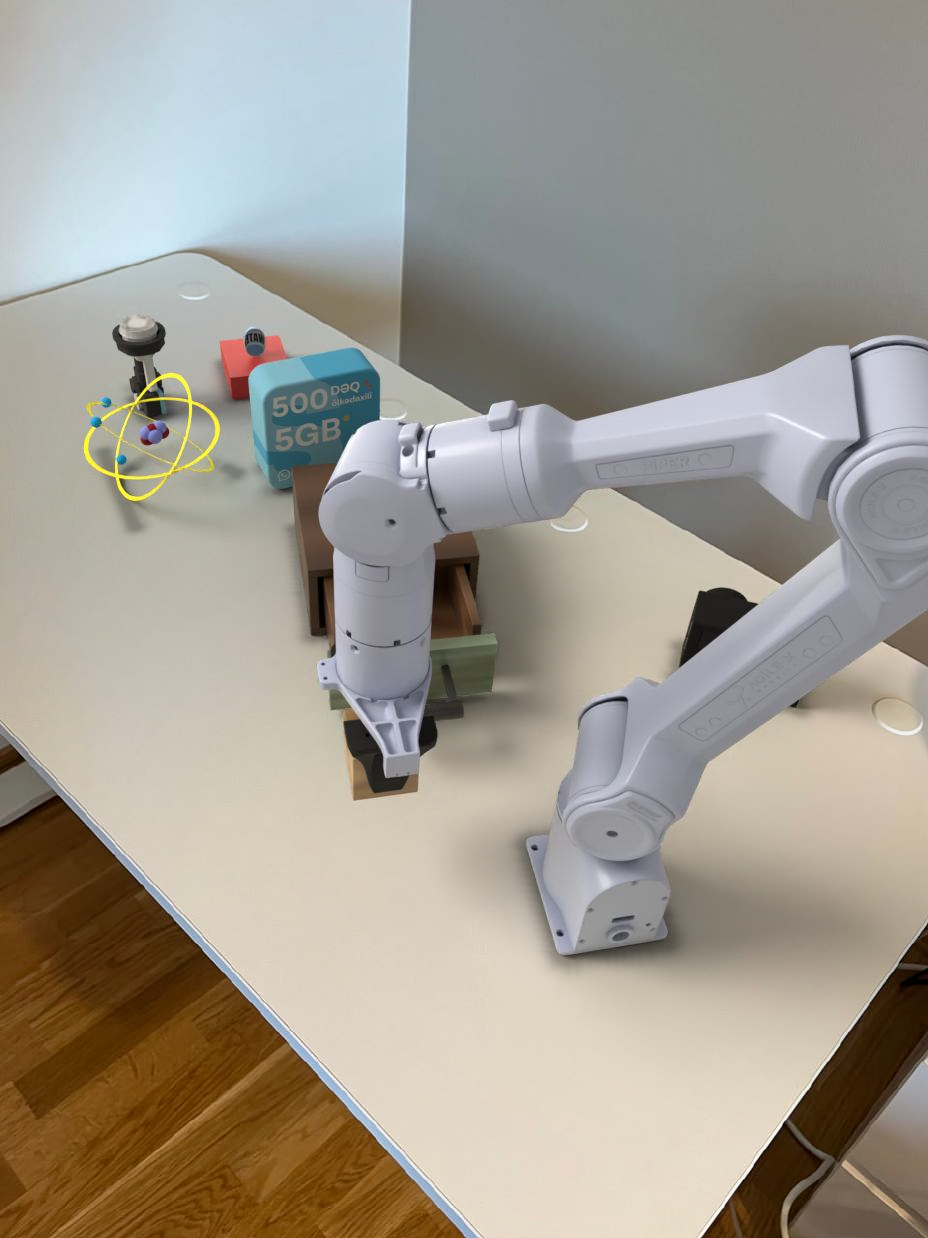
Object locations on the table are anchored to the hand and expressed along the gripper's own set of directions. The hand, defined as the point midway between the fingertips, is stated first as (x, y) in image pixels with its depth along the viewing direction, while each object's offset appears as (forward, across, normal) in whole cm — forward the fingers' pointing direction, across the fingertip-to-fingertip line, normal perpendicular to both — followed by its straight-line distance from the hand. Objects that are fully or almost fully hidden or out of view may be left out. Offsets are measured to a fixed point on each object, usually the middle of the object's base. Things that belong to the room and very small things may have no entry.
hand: (381, 757), depth 72 cm
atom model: (+10, -46, -15) cm, 49 cm away
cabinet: (+9, -29, +5) cm, 31 cm away
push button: (+10, -60, -16) cm, 63 cm away
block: (+1, 0, 0) cm, 1 cm away
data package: (+10, -46, +1) cm, 47 cm away
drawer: (+8, -16, +5) cm, 19 cm away
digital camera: (+10, -12, +34) cm, 37 cm away
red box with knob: (+10, -64, -4) cm, 65 cm away
